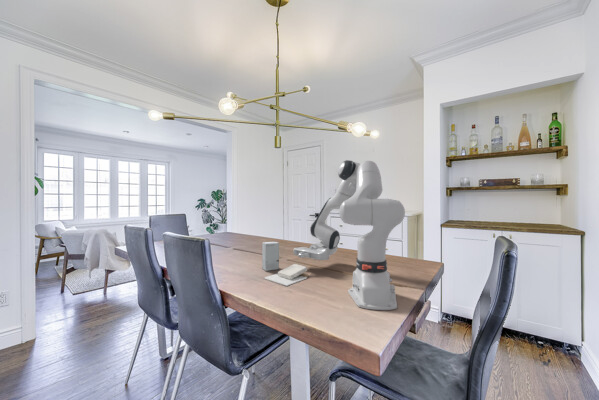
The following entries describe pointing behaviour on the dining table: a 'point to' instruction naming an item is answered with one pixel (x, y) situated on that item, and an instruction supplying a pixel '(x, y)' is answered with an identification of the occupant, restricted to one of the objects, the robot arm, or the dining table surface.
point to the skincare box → (270, 256)
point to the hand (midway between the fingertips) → (300, 255)
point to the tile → (292, 271)
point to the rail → (304, 275)
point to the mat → (284, 279)
